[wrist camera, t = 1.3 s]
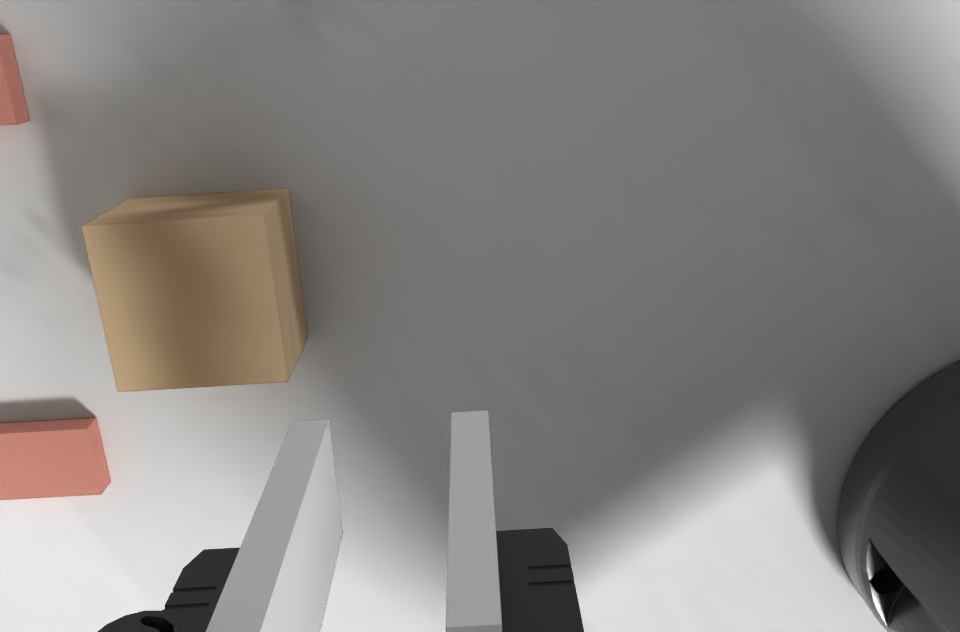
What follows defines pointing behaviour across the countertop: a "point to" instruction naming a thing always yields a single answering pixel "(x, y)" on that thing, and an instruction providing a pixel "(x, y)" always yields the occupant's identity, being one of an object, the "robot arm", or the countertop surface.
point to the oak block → (198, 289)
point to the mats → (55, 443)
